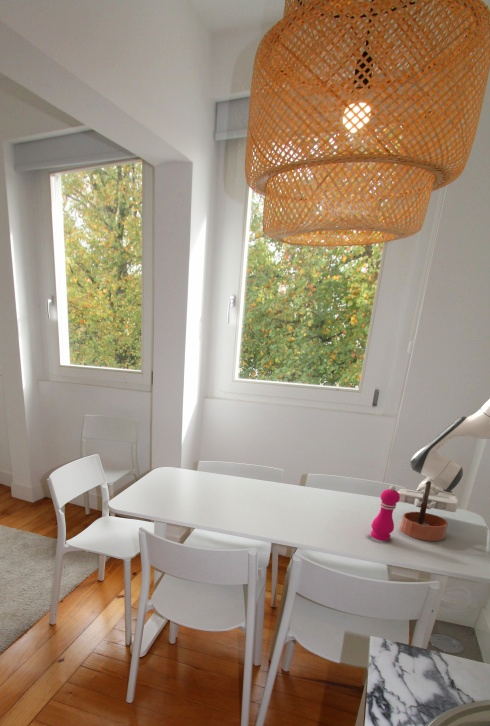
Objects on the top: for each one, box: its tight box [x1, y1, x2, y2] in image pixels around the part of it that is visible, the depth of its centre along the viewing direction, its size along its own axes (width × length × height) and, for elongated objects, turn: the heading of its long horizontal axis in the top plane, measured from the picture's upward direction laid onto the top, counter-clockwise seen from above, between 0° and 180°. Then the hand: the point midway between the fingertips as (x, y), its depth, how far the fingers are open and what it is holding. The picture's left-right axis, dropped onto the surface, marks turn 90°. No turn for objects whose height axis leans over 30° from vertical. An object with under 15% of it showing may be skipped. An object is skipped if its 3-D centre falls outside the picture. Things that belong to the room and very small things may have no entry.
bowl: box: [399, 511, 449, 542], centre depth 171 cm, size 14×14×6 cm
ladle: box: [414, 481, 431, 526], centre depth 170 cm, size 6×6×19 cm
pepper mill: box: [370, 485, 400, 542], centre depth 164 cm, size 7×7×20 cm
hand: (423, 506), depth 169 cm, fingers closed on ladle, 2 cm apart
